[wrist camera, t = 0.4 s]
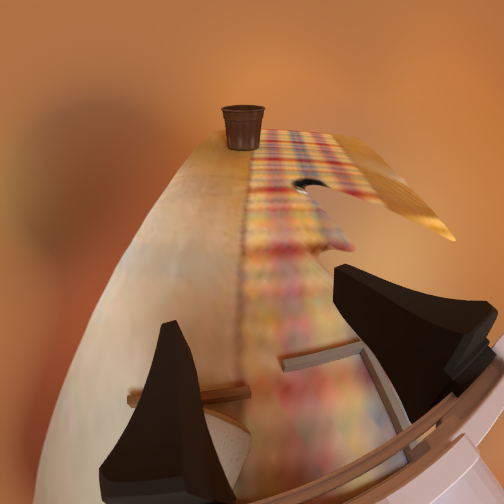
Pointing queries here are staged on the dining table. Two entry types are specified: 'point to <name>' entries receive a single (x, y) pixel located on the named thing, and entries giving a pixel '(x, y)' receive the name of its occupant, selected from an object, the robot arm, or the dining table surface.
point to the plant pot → (243, 126)
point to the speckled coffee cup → (228, 442)
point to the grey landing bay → (375, 372)
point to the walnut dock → (210, 396)
